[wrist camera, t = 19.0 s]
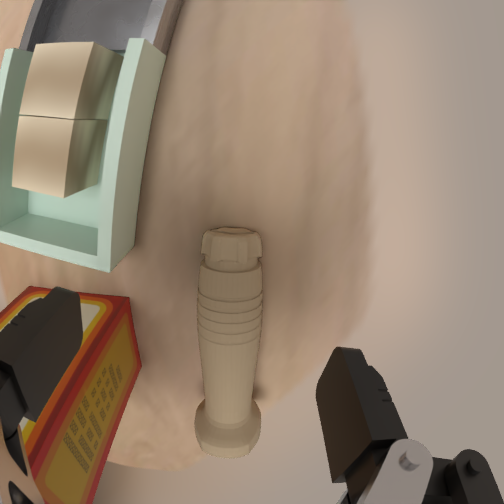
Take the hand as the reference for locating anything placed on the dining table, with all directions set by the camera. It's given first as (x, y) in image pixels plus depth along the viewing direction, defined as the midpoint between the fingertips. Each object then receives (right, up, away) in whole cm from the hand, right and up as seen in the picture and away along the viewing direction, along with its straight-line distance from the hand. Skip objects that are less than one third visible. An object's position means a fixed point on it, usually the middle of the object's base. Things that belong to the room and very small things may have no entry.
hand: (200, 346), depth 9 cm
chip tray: (-9, +10, +8) cm, 15 cm away
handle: (0, +4, +8) cm, 9 cm away
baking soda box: (-12, -3, +13) cm, 18 cm away
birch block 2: (-9, +9, +7) cm, 15 cm away
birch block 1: (-8, +13, +6) cm, 17 cm away
